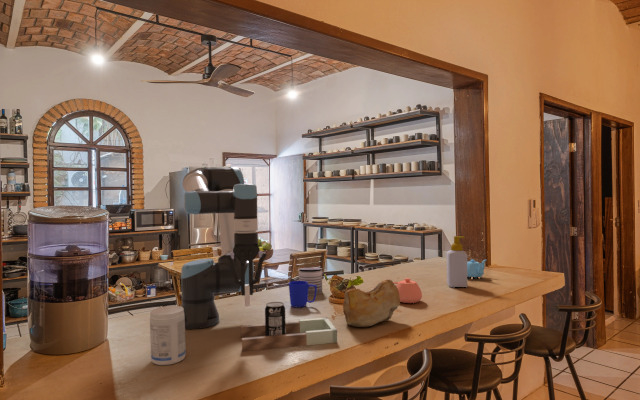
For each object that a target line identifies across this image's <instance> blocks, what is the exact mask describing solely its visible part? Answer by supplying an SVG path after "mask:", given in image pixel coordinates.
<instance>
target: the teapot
mask: <svg viewBox="0 0 640 400" xmlns="http://www.w3.org/2000/svg"><path fill="white" fill-rule="evenodd" d="M469 260H470V261H467V277H468V278H470V277H474V278H477V277H481V278H482V277H483V276H484V274H485V271H484V270H485V265H486V264H485V263H486V262H487V259H483V260H482V262H478V261H476V260H475V259H469Z"/></svg>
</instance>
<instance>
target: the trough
mask: <svg viewBox="0 0 640 400" xmlns="http://www.w3.org/2000/svg"><path fill="white" fill-rule="evenodd" d="M285 327H286V334H285V335H274V336H265V323H260V324H248V325H240V338H241V348H242V349H241V351H242V352H247V351H259V350H270V349H281V348H292V347H294V348H295V347H304V346H308V345H307V340H306V332H302V333H300V322H299V320H298V321H287V322H286V321H285Z"/></svg>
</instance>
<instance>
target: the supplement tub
mask: <svg viewBox="0 0 640 400" xmlns="http://www.w3.org/2000/svg"><path fill="white" fill-rule="evenodd" d="M149 335H150V358H151V359H150V360H151V362H152V363H153V364H155V365H157V366H169V365H174V364H177V363H179V362H181V361H182V360H184V359H185V357H186V355H187V354H186V353H187V349H186V329H185V317H184V308H183V307H181V305H180V306H179V305H165V306H161V307H156V308H153V309H152V310H151V311H150V312H149Z"/></svg>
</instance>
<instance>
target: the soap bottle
mask: <svg viewBox="0 0 640 400" xmlns="http://www.w3.org/2000/svg"><path fill="white" fill-rule="evenodd" d="M460 239H465V236H463V235H461V236H460V235H459V236H458V235H454V236H453V243H451V246H450V249H449V250H448V251H446V284H447V286H448V287H449V286H450V287H449V288H455V287H466V288H468V278H467V262H468V253H467V252H466V251H464V249H463V244H462V243H460Z"/></svg>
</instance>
